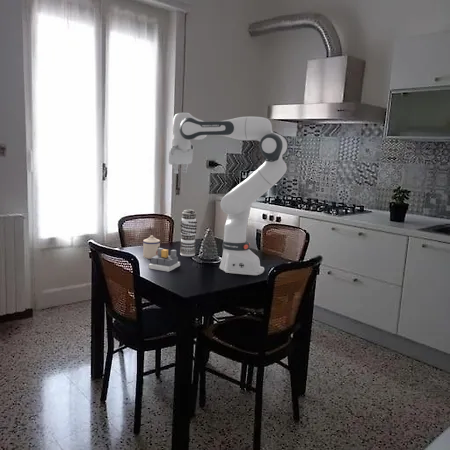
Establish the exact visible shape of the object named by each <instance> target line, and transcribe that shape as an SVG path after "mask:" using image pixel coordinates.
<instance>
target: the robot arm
mask: <svg viewBox="0 0 450 450" xmlns="http://www.w3.org/2000/svg"><path fill="white" fill-rule="evenodd" d="M172 122H173V123H172V134H173V135H172V143H171V144H172V145H171V146H172V147H171V148H170V149H169V154H168V164H169V165H172V168H173V174H179V168H178V167H179V165H183V168H182V173H183V174H187V171H188V167H189V165H192V163H193V158H194V150H195V147H194V144H192V142H191V140H200V141H201V140H204V139H206V138H207V137H208V136H222V137H227V138H231V139H235V140H239V141H258V142H259V147H258V148H259V151H260V153H261V155H262V157H263V159H264V162H263V163H262V164H260V166H258V168H257V169H255V170H254V171H253V172H252V173H251V174H250V175H249V176H248V177H246V179H244V180H243V181H241V182H240V183H239V184H237V185H236V186H235V187H233V188H232V189H231V190H230V191H228V192H227V193H226V194H225V195H224V196H223V197H222V198H221V200H220V204H219V205H220V209H221V211H222V212H223V214H224V213H225V214H227V216H226V221H225V222H224V223H225V224H224V227H223V228H224V229H223V231H224V233H223V240H222V254H221V255H222V257H221V261H220V264H219V267H218V269H220V270H222V271H223V272H225V274H226V273H227V274H228V273H229V274H236V275H246V276H247V275H248V276H258V275H259V276H260V275H261V274H263V273H264V272H265V267H264V266H261V261H260V258H259V256H258V255H256V254H255V252H253V251H252V250H251V248H250V246H251V243H250V242H248V241H247V232H248V229H247V228H248V222H249V219H250V211H251V208H252V204H253V203H254V202H255V201H257V200H258V199H260V197H262V196H264V194H266V193H267V192H268V191H269V190H270V189H272V187H273V186H275V185H276V184H277V183H278V182H279V181H280V180H281V178H282V177H283V176H284V175H285V174H286V173H287V170H288V167H287V166H288V165H287V164H286V162H285V160H284V159H283V156H284V155H285V154H286V153H287V152H288V149H289V142H288V140H287V139H286V137H285V136H284V135H282V134H280V133H278V132H277V131H273V125H272V122H271V121H270V119H269V118H266V117H262V116H254V115H253V116H249V115H248V116H239V117H235V118H230V119H224V120H218V121H217V120H215V121H213V120H212V121H209V120H208V121H204V120H202V119H200V118H197V117H195V116H194V115H192V114H191V113H189V112H186V111H184V112H183V111H182V112H177V113H176V114H175V115H174V116H173V121H172Z"/></svg>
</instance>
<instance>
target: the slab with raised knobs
mask: <svg viewBox="0 0 450 450" xmlns="http://www.w3.org/2000/svg"><path fill="white" fill-rule="evenodd" d="M163 249H165V248H163V247H160V248H158V255H156V256H154V257H152V258H151V259H150V261H151V263H149V264H148V269H150V270H156V271H162V272H170V271H173V270H175V269H176V268H178V267H180V266H181V261H179V257H178V256H177V250H176V249H171V250H170V255H168V257H166V258H164V257H161V250H163Z"/></svg>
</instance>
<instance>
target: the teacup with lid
mask: <svg viewBox="0 0 450 450" xmlns="http://www.w3.org/2000/svg"><path fill="white" fill-rule="evenodd" d="M142 243H143V244H142V246H143V247H142V248H143V251H142V257H143V258H144V259H148V260H151V258H152V257H154V256H156V255H158V248H161V247H160V246H161V240H160V239H158V238H156V237H155V236H154V235H149V237H147V238H145V239H143V241H142Z"/></svg>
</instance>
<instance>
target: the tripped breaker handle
mask: <svg viewBox="0 0 450 450" xmlns="http://www.w3.org/2000/svg"><path fill="white" fill-rule="evenodd" d="M168 256H169V249H166V248H164V249H163V250H161V257H164V258H166V257H168Z"/></svg>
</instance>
